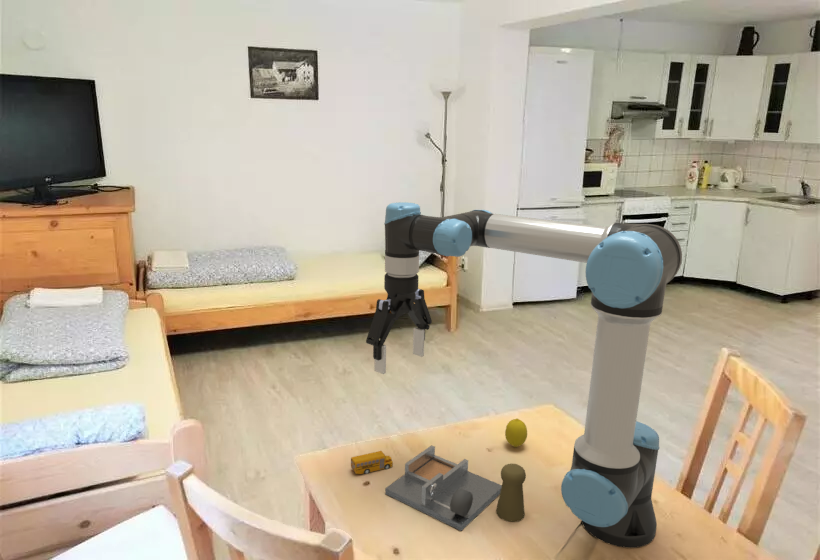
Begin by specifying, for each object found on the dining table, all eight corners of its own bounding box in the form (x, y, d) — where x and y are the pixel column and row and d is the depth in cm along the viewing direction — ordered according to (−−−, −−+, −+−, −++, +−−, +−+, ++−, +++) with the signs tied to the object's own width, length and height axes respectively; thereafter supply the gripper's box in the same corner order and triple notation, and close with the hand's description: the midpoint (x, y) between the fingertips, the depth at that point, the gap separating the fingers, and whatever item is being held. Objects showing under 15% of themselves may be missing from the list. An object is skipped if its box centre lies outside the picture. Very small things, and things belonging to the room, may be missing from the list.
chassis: (502, 491, 137) (504, 468, 136) (460, 531, 124) (462, 505, 122) (430, 461, 149) (431, 439, 147) (385, 494, 135) (385, 470, 134)
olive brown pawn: (502, 501, 134) (505, 456, 131) (528, 510, 131) (532, 465, 128) (491, 515, 129) (494, 469, 126) (518, 525, 126) (522, 478, 123)
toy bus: (393, 468, 146) (393, 454, 145) (355, 477, 142) (355, 462, 141) (388, 461, 149) (388, 447, 148) (350, 470, 144) (350, 456, 144)
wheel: (472, 508, 128) (473, 488, 127) (459, 520, 124) (460, 499, 123) (460, 503, 130) (461, 483, 128) (447, 515, 126) (448, 494, 124)
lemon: (500, 443, 158) (502, 415, 156) (519, 440, 160) (521, 412, 157) (510, 454, 153) (512, 425, 151) (529, 451, 154) (532, 422, 152)
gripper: (422, 261, 145) (420, 344, 151) (349, 281, 126) (349, 375, 132) (448, 266, 141) (445, 352, 146) (376, 287, 122) (375, 385, 127)
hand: (399, 363), depth 139 cm, fingers open, 13 cm apart
